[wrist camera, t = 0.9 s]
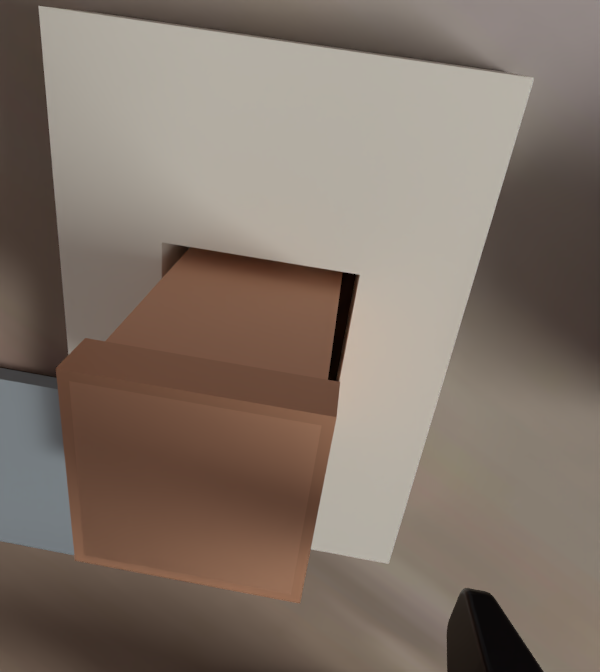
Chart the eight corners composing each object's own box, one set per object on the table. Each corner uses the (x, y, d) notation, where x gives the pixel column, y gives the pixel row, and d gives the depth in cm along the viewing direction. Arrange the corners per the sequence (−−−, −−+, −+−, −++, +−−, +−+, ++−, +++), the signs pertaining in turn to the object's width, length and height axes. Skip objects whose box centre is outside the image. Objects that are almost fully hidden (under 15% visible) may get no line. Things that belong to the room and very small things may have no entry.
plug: (329, 378, 17) (300, 603, 10) (193, 355, 18) (75, 560, 11) (353, 246, 15) (336, 417, 8) (199, 222, 16) (55, 368, 9)
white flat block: (387, 505, 20) (388, 563, 17) (113, 455, 20) (81, 505, 18) (507, 72, 13) (534, 78, 11) (93, 11, 13) (38, 5, 11)
